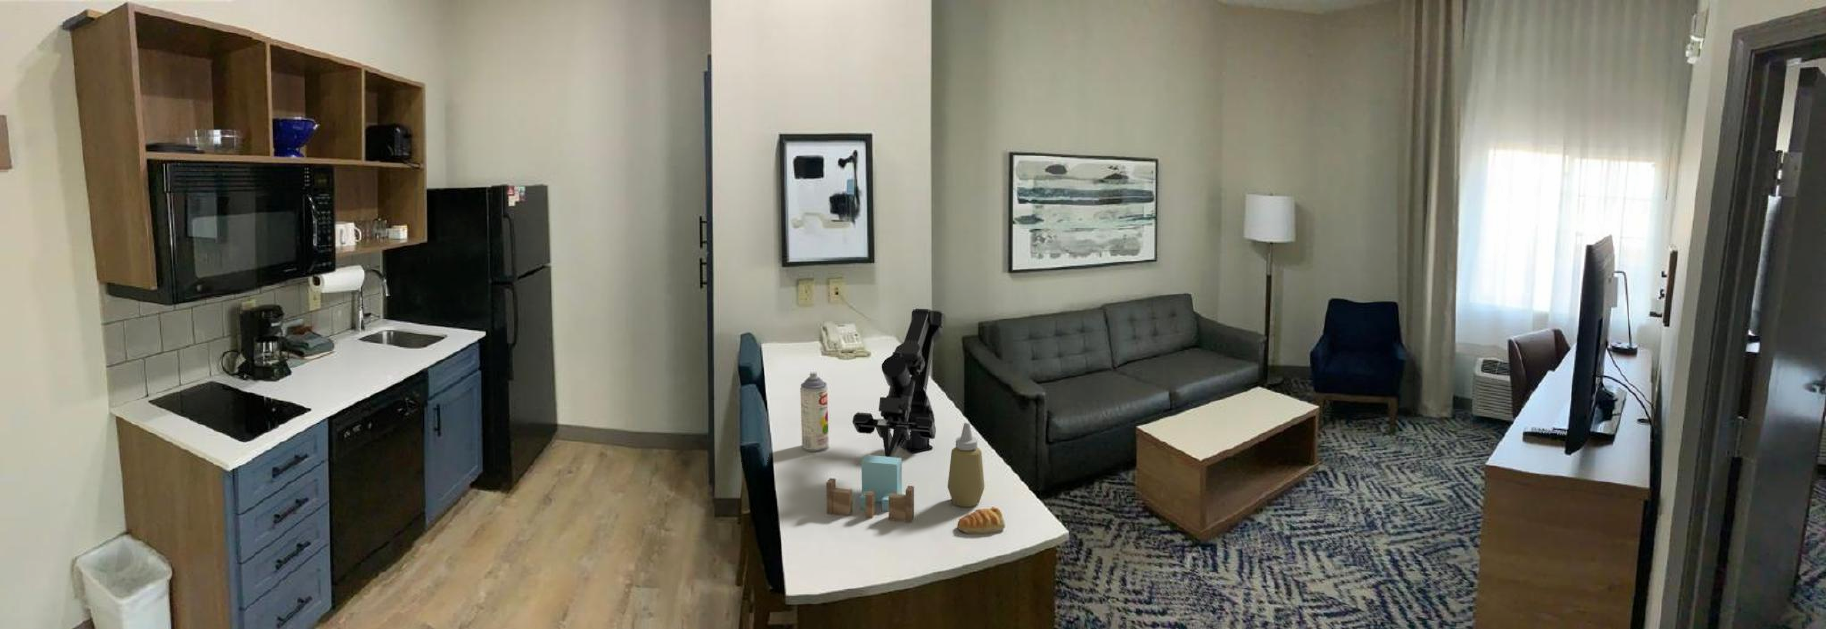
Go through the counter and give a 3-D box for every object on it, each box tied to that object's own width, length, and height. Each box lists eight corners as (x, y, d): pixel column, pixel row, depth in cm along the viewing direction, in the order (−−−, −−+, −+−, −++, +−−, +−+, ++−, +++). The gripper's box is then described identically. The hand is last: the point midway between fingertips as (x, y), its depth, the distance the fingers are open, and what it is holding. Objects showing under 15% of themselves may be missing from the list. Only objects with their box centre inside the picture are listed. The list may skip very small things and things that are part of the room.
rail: (830, 508, 176) (830, 477, 175) (914, 517, 172) (914, 486, 170) (827, 513, 174) (826, 482, 172) (911, 522, 169) (911, 490, 168)
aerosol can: (824, 452, 208) (822, 376, 204) (798, 451, 210) (796, 375, 206) (831, 443, 215) (829, 369, 211) (806, 441, 216) (804, 368, 212)
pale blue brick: (867, 492, 184) (866, 454, 182) (901, 496, 182) (901, 457, 180) (856, 507, 176) (855, 468, 175) (892, 511, 175) (892, 471, 173)
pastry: (965, 539, 162) (965, 521, 162) (951, 525, 169) (951, 508, 168) (1007, 531, 166) (1008, 513, 165) (992, 518, 172) (993, 500, 171)
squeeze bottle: (988, 497, 182) (989, 419, 178) (979, 512, 174) (980, 431, 170) (953, 492, 184) (953, 415, 181) (942, 506, 177) (943, 427, 173)
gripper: (854, 378, 188) (839, 440, 180) (933, 384, 184) (922, 447, 176) (864, 401, 197) (851, 461, 189) (940, 407, 193) (930, 468, 185)
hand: (887, 459), depth 184 cm, fingers closed
